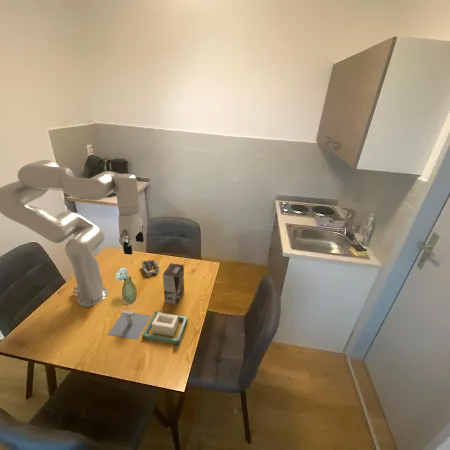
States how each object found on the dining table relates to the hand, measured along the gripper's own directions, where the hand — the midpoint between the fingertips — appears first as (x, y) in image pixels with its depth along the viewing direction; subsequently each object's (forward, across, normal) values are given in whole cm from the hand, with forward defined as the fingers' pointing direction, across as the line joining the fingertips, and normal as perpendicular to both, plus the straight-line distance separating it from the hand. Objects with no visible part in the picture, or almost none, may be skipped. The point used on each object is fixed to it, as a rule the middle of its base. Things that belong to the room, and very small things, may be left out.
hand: (134, 247), depth 100 cm
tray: (+28, +13, +16) cm, 35 cm away
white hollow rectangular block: (+28, +13, +16) cm, 35 cm away
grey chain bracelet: (+29, -23, -6) cm, 37 cm away
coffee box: (+28, -5, +14) cm, 32 cm away
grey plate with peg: (+28, +14, +2) cm, 32 cm away
